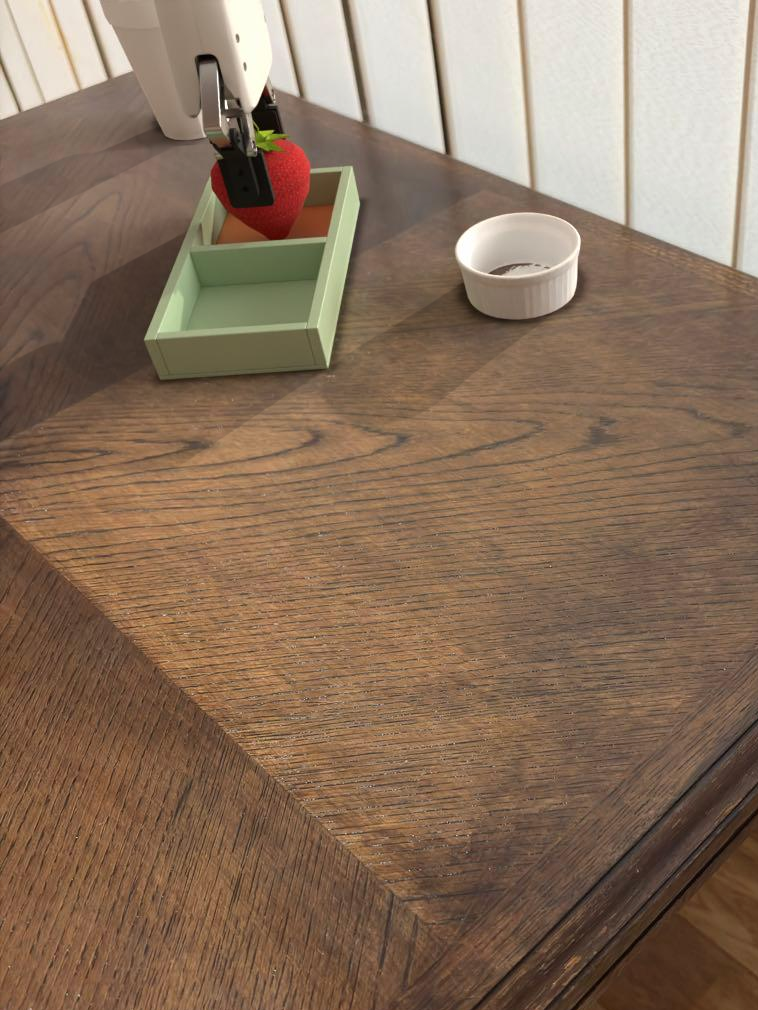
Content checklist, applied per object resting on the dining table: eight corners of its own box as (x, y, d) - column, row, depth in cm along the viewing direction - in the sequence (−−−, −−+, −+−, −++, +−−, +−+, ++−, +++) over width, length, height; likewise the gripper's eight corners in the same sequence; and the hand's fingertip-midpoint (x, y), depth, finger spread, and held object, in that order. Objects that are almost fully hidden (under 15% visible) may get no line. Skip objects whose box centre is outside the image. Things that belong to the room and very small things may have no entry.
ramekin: (444, 323, 76) (436, 270, 73) (485, 257, 82) (479, 205, 79) (563, 338, 74) (560, 284, 71) (596, 269, 80) (594, 216, 77)
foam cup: (217, 94, 106) (176, -47, 97) (262, 123, 101) (224, -24, 92) (129, 127, 103) (78, -17, 93) (172, 158, 97) (122, 8, 88)
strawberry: (220, 238, 84) (182, 114, 77) (309, 209, 87) (280, 86, 79) (244, 271, 81) (206, 145, 73) (336, 241, 83) (308, 115, 76)
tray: (162, 388, 73) (143, 339, 70) (223, 221, 89) (209, 176, 86) (330, 376, 73) (317, 327, 70) (361, 210, 88) (352, 165, 85)
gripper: (161, -120, 73) (233, 133, 86) (93, -32, 61) (188, 246, 74) (269, -129, 73) (325, 126, 86) (222, -43, 61) (295, 238, 74)
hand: (261, 179), depth 80 cm, fingers closed on strawberry, 6 cm apart
